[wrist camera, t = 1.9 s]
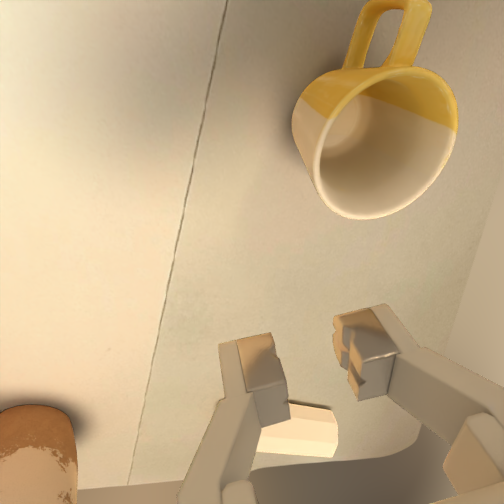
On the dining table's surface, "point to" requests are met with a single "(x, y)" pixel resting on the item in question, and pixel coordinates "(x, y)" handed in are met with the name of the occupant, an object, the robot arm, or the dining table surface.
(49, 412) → the vase
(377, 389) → the robot arm
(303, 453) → the crystal
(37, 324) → the dining table surface
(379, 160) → the mug
